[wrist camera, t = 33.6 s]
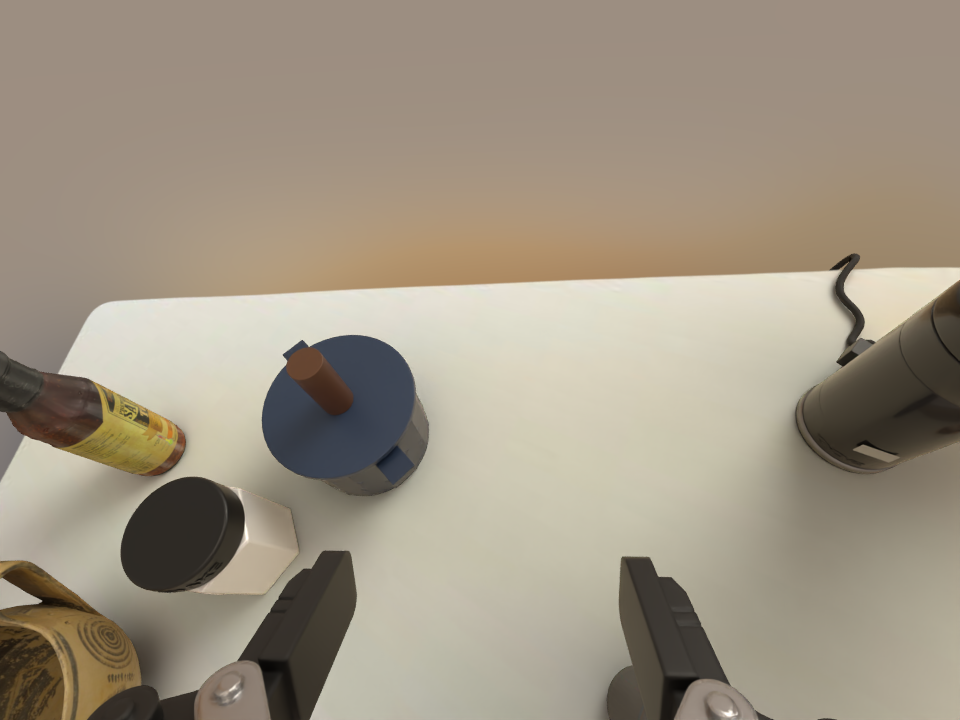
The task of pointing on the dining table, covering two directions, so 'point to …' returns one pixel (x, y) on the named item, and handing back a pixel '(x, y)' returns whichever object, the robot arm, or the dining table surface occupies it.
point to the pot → (394, 464)
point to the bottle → (625, 697)
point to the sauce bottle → (88, 420)
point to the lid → (338, 407)
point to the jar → (207, 540)
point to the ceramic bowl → (58, 652)
